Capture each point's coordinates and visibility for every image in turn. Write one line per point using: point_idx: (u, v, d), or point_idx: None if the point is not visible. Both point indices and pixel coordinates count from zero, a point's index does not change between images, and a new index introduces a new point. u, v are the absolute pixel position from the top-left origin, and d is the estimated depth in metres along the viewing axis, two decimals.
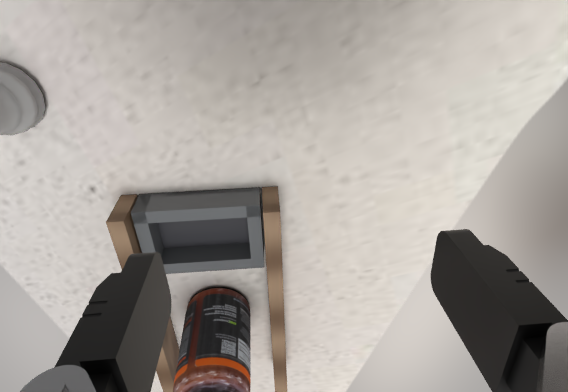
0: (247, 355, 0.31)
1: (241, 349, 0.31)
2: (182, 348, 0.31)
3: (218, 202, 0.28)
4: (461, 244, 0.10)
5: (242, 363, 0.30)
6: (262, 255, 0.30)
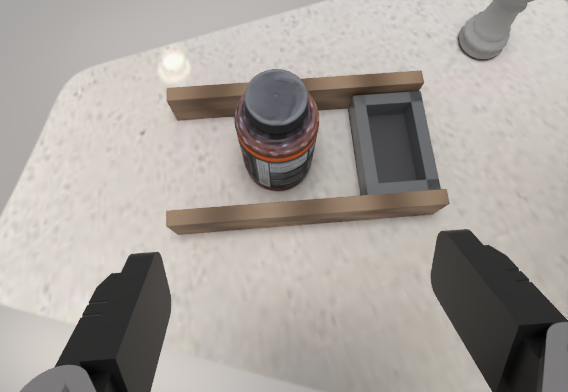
0: (292, 165, 0.28)
1: (303, 159, 0.28)
2: None
3: None
4: (461, 244, 0.10)
5: (303, 154, 0.27)
6: (383, 193, 0.31)
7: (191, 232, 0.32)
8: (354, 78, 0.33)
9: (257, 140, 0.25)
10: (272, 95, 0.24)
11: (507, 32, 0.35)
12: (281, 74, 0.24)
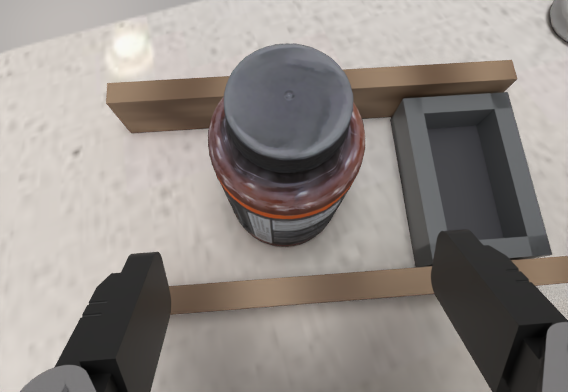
0: (313, 221, 0.16)
1: (332, 210, 0.16)
2: None
3: None
4: (461, 244, 0.10)
5: (333, 204, 0.15)
6: None
7: None
8: (407, 71, 0.21)
9: (249, 183, 0.13)
10: (280, 95, 0.12)
11: None
12: (299, 53, 0.12)
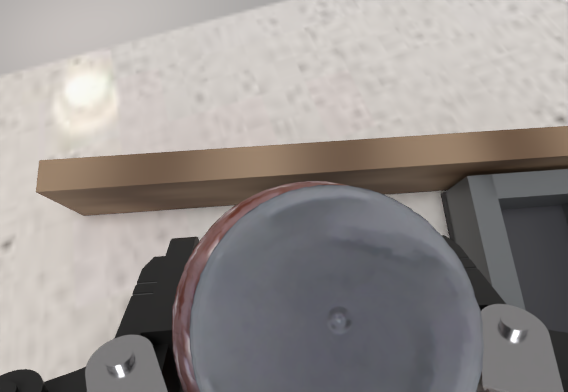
0: None
1: None
2: None
3: None
4: None
5: None
6: None
7: None
8: (475, 139, 0.14)
9: None
10: (318, 321, 0.05)
11: None
12: (356, 212, 0.05)
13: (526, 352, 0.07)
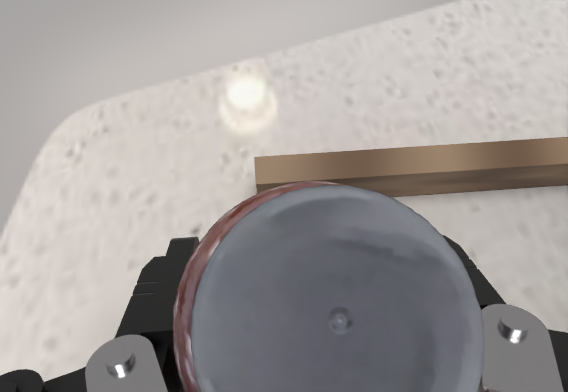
0: None
1: None
2: None
3: None
4: None
5: None
6: None
7: None
8: None
9: None
10: (318, 322, 0.05)
11: None
12: (357, 213, 0.05)
13: (526, 352, 0.07)
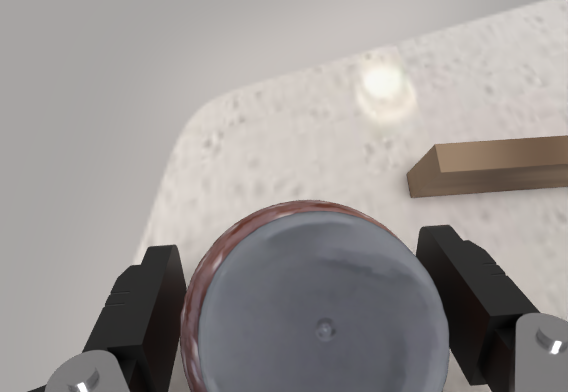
0: None
1: None
2: None
3: None
4: (441, 239, 0.10)
5: None
6: None
7: None
8: None
9: None
10: (307, 330, 0.06)
11: None
12: (342, 236, 0.06)
13: None
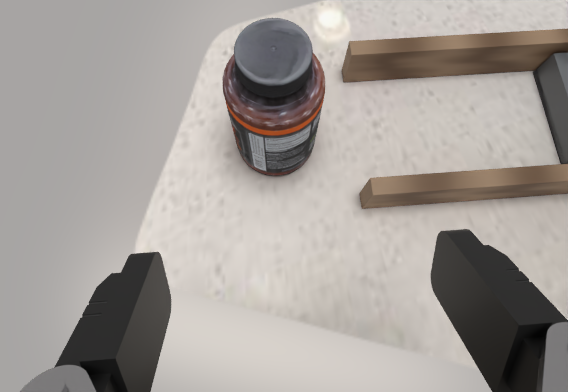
0: (292, 141, 0.23)
1: (305, 134, 0.24)
2: None
3: None
4: (461, 244, 0.10)
5: (305, 127, 0.22)
6: None
7: (379, 206, 0.28)
8: (559, 32, 0.29)
9: (250, 107, 0.21)
10: (268, 48, 0.19)
11: None
12: (279, 24, 0.20)
13: None
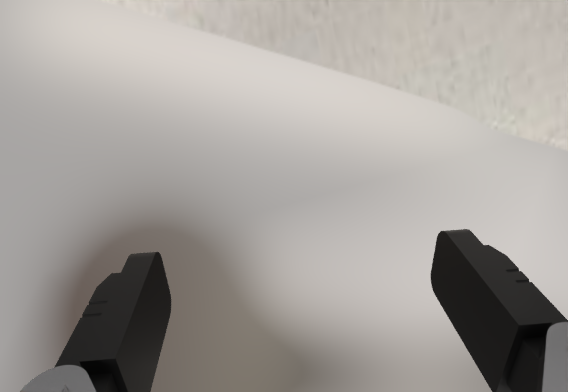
0: None
1: None
2: None
3: None
4: (461, 244, 0.10)
5: None
6: None
7: None
8: None
9: None
10: None
11: None
12: None
13: None
